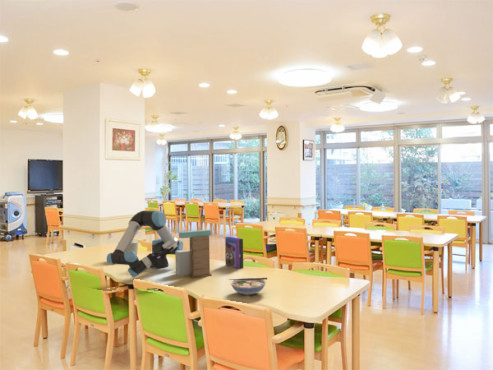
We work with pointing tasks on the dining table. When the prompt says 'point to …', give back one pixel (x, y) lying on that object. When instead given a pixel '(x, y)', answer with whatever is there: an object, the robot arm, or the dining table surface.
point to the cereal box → (234, 252)
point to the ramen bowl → (248, 285)
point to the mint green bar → (194, 234)
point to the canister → (133, 246)
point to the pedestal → (199, 257)
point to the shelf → (182, 262)
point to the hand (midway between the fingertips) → (173, 243)
